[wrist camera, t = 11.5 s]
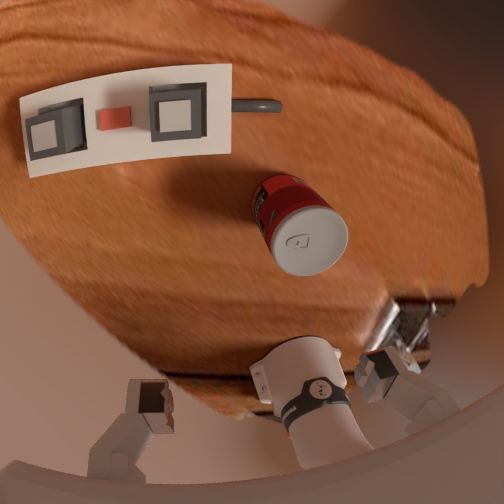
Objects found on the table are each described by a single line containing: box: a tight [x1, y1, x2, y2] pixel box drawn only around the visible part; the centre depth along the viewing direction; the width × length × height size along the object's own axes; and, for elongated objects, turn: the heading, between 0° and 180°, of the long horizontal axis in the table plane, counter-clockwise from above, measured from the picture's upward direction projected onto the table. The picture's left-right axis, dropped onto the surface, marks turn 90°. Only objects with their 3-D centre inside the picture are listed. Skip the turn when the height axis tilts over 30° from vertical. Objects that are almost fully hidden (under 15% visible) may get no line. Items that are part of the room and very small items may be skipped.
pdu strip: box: [20, 64, 282, 178], centre depth 25 cm, size 9×28×9 cm, turn 88°
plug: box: [149, 89, 201, 142], centre depth 24 cm, size 4×4×8 cm
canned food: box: [252, 175, 348, 276], centre depth 33 cm, size 8×8×11 cm
